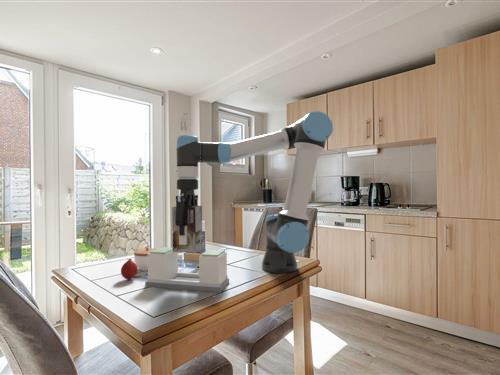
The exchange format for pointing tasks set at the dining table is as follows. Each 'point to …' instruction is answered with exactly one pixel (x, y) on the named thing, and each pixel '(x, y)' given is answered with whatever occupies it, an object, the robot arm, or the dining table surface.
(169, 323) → the dining table surface
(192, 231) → the coffee box
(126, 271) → the onion
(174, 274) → the white slotted block
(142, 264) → the lidded jar
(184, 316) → the dining table surface
